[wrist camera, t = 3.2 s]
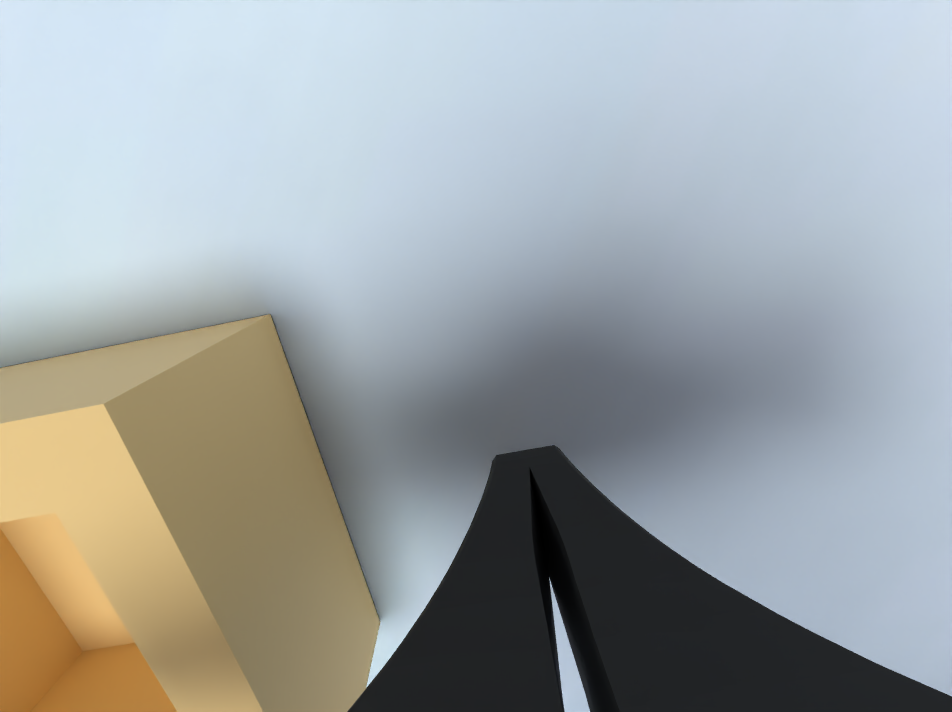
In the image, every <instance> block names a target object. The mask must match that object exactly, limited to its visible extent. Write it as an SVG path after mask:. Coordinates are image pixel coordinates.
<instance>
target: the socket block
mask: <svg viewBox="0 0 952 712" xmlns="http://www.w3.org/2000/svg"><path fill="white" fill-rule="evenodd" d="M379 625H380V620H379V617H378V615H377V612H376V609H375V606H374V603H373V601H372V598H371V595H370V592H369V589H368V587H367V584H366V581H365V578H364V575H363V573H362V570H361V567H360V564H359V561H358V559H357V556H356V553H355V550H354V547H353V545H352V542H351V539H350V536H349V533H348V531H347V528H346V525H345V522H344V519H343V517H342V514H341V511H340V508H339V505H338V503H337V500H336V497H335V494H334V491H333V488H332V486H331V483H330V480H329V477H328V474H327V472H326V469H325V466H324V463H323V460H322V458H321V455H320V452H319V449H318V446H317V444H316V441H315V438H314V435H313V432H312V430H311V427H310V424H309V421H308V418H307V416H306V413H305V410H304V407H303V404H302V402H301V399H300V396H299V393H298V390H297V388H296V385H295V382H294V379H293V376H292V374H291V371H290V368H289V365H288V362H287V360H286V357H285V354H284V351H283V348H282V346H281V343H280V340H279V337H278V334H277V332H276V329H275V326H274V323H273V320H272V318H271V315H270V314H269V315H264V316H259V317H254V318H249V319H244V320H239V321H234V322H229V323H224V324H219V325H214V326H209V327H204V328H199V329H194V330H189V331H184V332H179V333H174V334H169V335H164V336H158V337H153V338H148V339H143V340H138V341H133V342H128V343H123V344H118V345H113V346H108V347H103V348H98V349H93V350H88V351H83V352H78V353H73V354H68V355H63V356H58V357H53V358H48V359H43V360H38V361H33V362H28V363H23V364H17V365H12V366H7V367H2V368H0V712H347V711H348V710H349V709H350V708H351V706H352V705H353V704H354V703H355V701H356V700H357V699H358V698H359V697H360V695H361V694H362V693H363V692H364V690H365V689H366V685H367V681H368V676H369V671H370V667H371V662H372V658H373V653H374V648H375V644H376V639H377V635H378V630H379Z"/></svg>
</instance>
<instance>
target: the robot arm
mask: <svg viewBox="0 0 952 712" xmlns="http://www.w3.org/2000/svg"><path fill="white" fill-rule="evenodd" d="M549 577H550V581H551V584H552V587H553V590H554V594H555V597H556V600H557V603H558V607H559V610H560V613H561V616H562V620H563V623H564V626H565V629H566V632H567V636H568V639H569V642H570V645H571V649H572V652H573V655H574V658H575V661H576V665H577V668H578V671H579V674H580V678H581V681H582V684H583V687H584V691H585V694H586V698H587V701H588V705H589V709H590V712H952V696H949V695H947V694H945V693H942V692H940V691H938V690H935V689H933V688H931V687H929V686H926V685H924V684H922V683H919V682H917V681H915V680H913V679H910V678H908V677H906V676H903V675H901V674H899V673H897V672H894V671H892V670H890V669H887V668H885V667H883V666H881V665H879V664H877V663H874V662H872V661H870V660H868V659H866V658H864V657H862V656H860V655H858V654H856V653H854V652H852V651H850V650H848V649H846V648H844V647H842V646H840V645H838V644H836V643H834V642H832V641H830V640H827V639H825V638H823V637H821V636H819V635H817V634H815V633H813V632H811V631H809V630H807V629H805V628H803V627H801V626H800V625H798V624H796V623H794V622H792V621H790V620H788V619H786V618H784V617H783V616H781V615H779V614H777V613H775V612H773V611H772V610H770V609H768V608H766V607H765V606H763V605H761V604H759V603H758V602H756V601H754V600H752V599H750V598H749V597H747V596H745V595H743V594H742V593H740V592H738V591H736V590H735V589H733V588H731V587H729V586H728V585H726V584H724V583H722V582H721V581H719V580H717V579H716V578H714V577H713V576H711V575H709V574H708V573H706V572H705V571H703V570H702V569H700V568H698V567H697V566H695V565H694V564H692V563H691V562H689V561H688V560H686V559H685V558H684V557H682V556H681V555H679V554H678V553H676V552H675V551H673V550H672V549H670V548H669V547H668V546H666V545H665V544H663V543H662V542H661V541H659V540H658V539H657V538H655V537H654V536H653V535H651V534H650V533H649V532H647V531H646V530H645V529H644V528H642V527H641V526H640V525H639V524H637V523H636V522H635V521H634V520H632V519H631V518H630V517H629V516H627V515H626V514H625V513H624V512H623V511H621V510H620V509H619V508H618V507H617V506H616V505H614V504H613V503H612V502H611V501H610V500H609V499H608V498H607V497H606V496H605V495H603V494H602V493H601V492H600V491H599V490H598V489H597V488H596V487H595V486H594V485H593V484H592V483H591V482H590V481H588V480H587V479H586V478H585V477H584V476H583V474H582V473H581V472H580V471H579V470H578V469H577V468H576V467H575V466H574V465H573V464H572V463H571V462H570V461H569V460H568V458H567V457H566V456H565V455H564V454H563V452H562V451H561V450H560V449H559V448H558V447H556V446H555V445H552V446H546V447H541V448H535V449H529V450H523V451H518V452H512V453H506V454H501V455H496V457H495V458H494V459H493V461H492V466H491V470H490V474H489V478H488V481H487V484H486V487H485V490H484V493H483V496H482V498H481V501H480V503H479V506H478V508H477V511H476V513H475V516H474V518H473V521H472V523H471V525H470V527H469V530H468V532H467V534H466V536H465V538H464V540H463V542H462V544H461V546H460V548H459V550H458V552H457V554H456V556H455V558H454V560H453V562H452V564H451V566H450V567H449V569H448V571H447V573H446V575H445V576H444V578H443V580H442V581H441V583H440V585H439V587H438V588H437V590H436V591H435V593H434V595H433V596H432V598H431V600H430V601H429V603H428V604H427V606H426V608H425V609H424V611H423V612H422V613H421V615H420V616H419V618H418V619H417V621H416V622H415V624H414V625H413V627H412V628H411V630H410V631H409V632H408V634H407V635H406V637H405V638H404V640H403V641H402V643H401V644H400V645H399V647H398V648H397V650H396V651H395V652H394V654H393V655H392V656H391V658H390V659H389V660H388V662H387V663H386V664H385V666H384V667H383V668H382V670H381V671H380V672H379V673H378V674H377V676H376V677H375V678H374V679H373V681H372V682H371V683H370V684H369V685H368V687H367V688H366V689H365V690H364V692H363V693H362V694H361V695H360V697H359V698H358V699H357V700H356V701H355V703H354V704H353V705H352V706H351V708H350V709H349V710H348V711H347V712H564V705H563V698H562V690H561V681H560V671H559V662H558V653H557V644H556V635H555V626H554V617H553V608H552V599H551V590H550V581H549Z"/></svg>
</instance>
